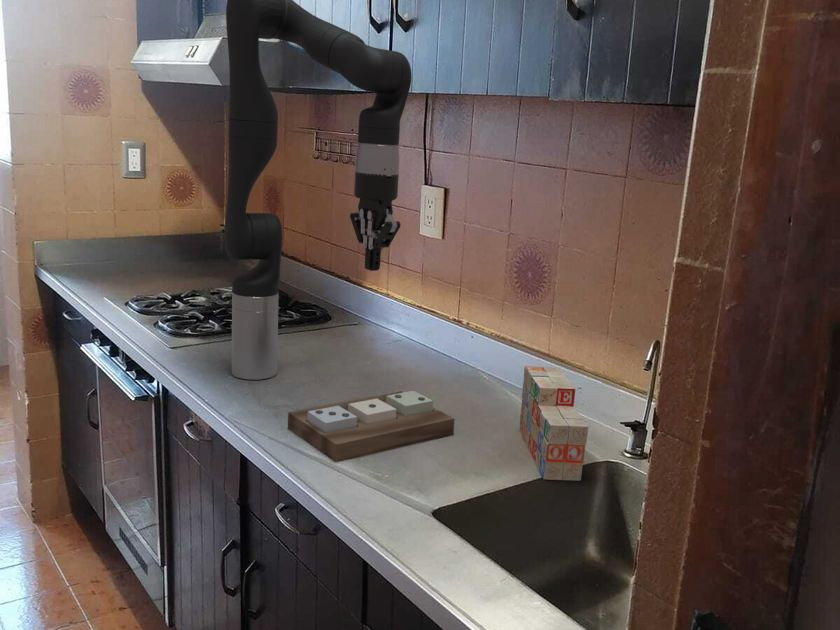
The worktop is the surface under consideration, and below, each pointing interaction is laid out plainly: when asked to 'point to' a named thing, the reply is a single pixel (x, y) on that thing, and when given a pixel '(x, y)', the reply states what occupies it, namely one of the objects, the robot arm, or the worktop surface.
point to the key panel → (371, 431)
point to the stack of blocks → (552, 424)
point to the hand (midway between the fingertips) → (372, 269)
